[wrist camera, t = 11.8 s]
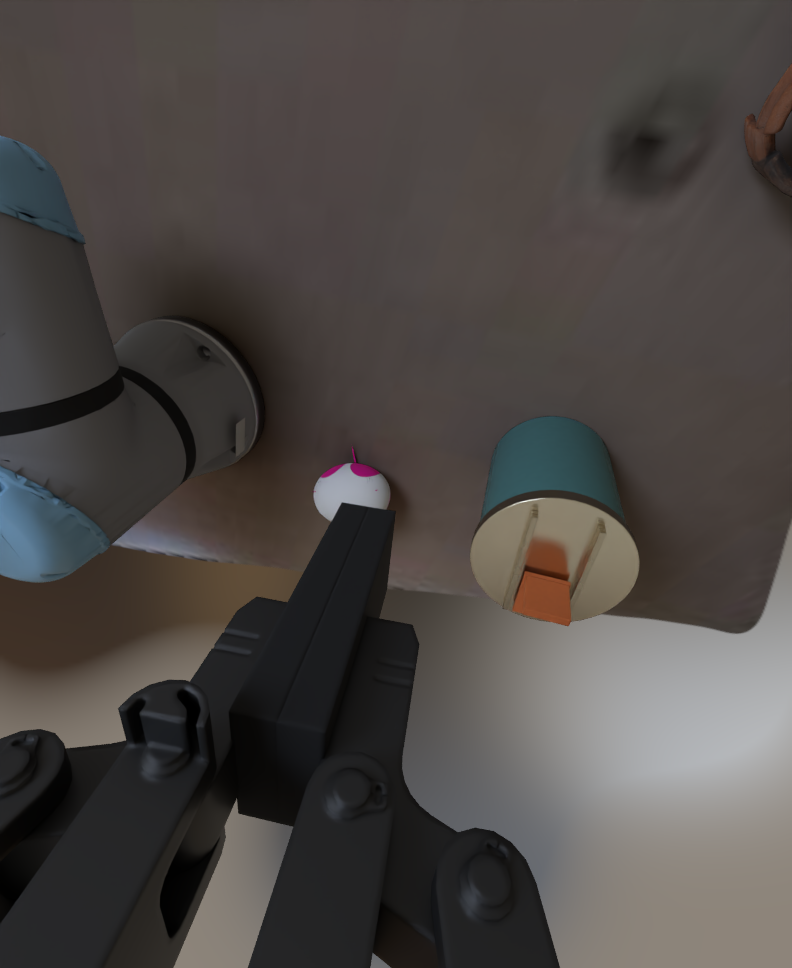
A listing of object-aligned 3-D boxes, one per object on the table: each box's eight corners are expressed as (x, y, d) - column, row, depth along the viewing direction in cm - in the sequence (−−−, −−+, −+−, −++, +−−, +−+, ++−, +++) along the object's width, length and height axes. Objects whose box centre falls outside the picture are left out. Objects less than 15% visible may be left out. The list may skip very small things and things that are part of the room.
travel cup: (501, 401, 40) (485, 488, 28) (633, 426, 38) (671, 529, 27) (478, 503, 45) (456, 607, 34) (590, 528, 44) (607, 647, 32)
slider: (524, 570, 31) (522, 607, 29) (570, 581, 31) (573, 620, 28) (512, 607, 33) (509, 645, 31) (555, 618, 33) (556, 658, 30)
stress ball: (400, 447, 48) (381, 437, 42) (400, 525, 48) (380, 528, 41) (331, 450, 50) (303, 440, 44) (330, 525, 50) (302, 527, 43)
